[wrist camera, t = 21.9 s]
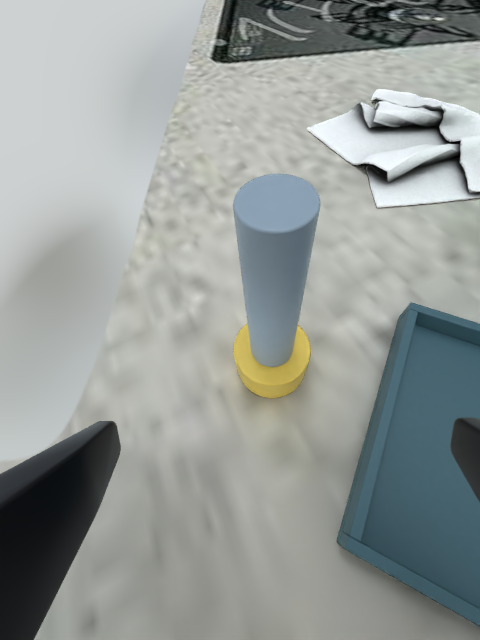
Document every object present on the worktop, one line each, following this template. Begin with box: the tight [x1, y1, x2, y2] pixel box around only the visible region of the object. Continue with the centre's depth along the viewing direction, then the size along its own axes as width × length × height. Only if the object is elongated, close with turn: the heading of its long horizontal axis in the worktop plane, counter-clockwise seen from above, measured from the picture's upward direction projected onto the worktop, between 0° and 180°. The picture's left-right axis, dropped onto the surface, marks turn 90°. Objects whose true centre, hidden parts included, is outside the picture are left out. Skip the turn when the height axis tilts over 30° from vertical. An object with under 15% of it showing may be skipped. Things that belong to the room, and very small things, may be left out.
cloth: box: [307, 89, 480, 208], centre depth 31 cm, size 20×22×2 cm
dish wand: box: [233, 174, 320, 398], centre depth 15 cm, size 5×5×14 cm
